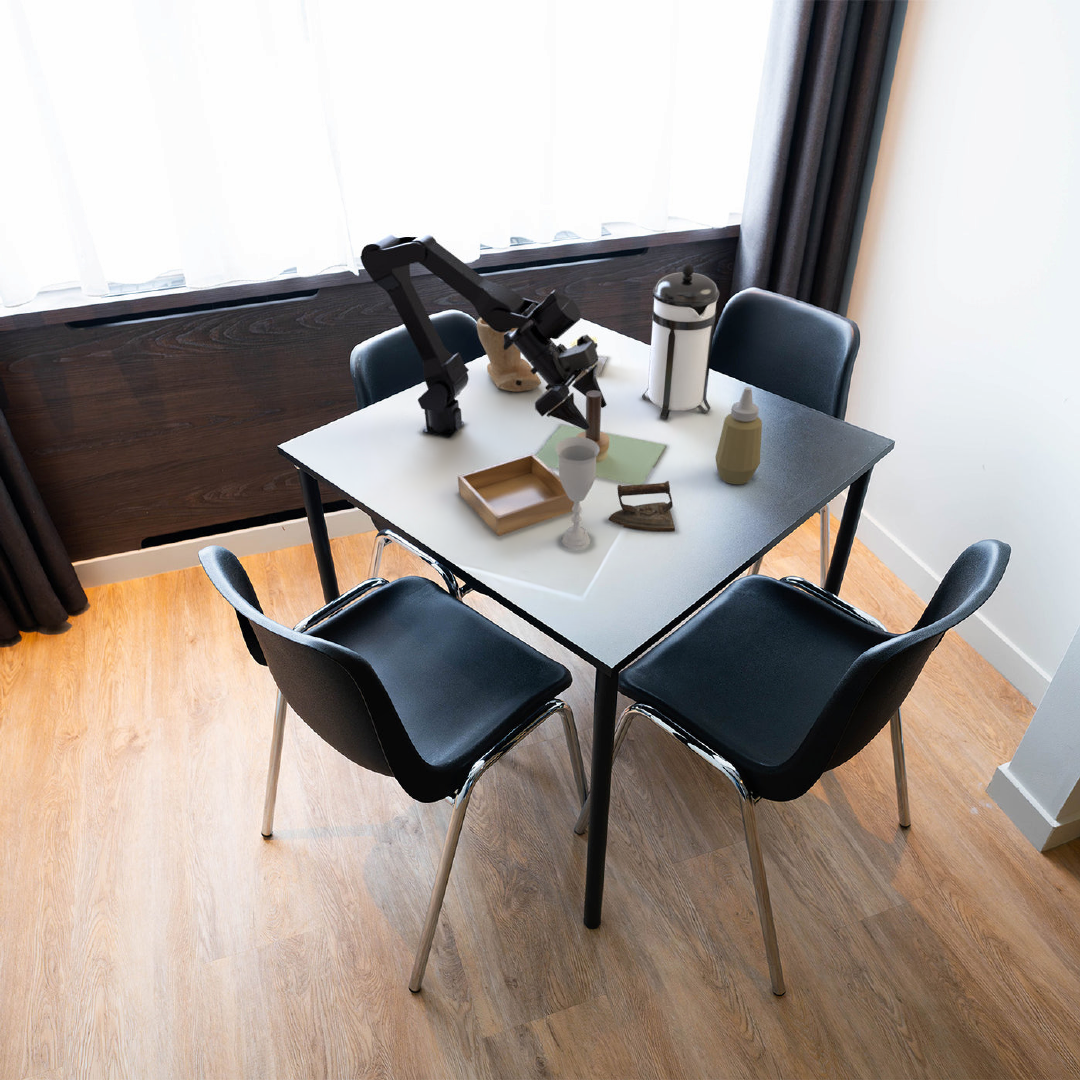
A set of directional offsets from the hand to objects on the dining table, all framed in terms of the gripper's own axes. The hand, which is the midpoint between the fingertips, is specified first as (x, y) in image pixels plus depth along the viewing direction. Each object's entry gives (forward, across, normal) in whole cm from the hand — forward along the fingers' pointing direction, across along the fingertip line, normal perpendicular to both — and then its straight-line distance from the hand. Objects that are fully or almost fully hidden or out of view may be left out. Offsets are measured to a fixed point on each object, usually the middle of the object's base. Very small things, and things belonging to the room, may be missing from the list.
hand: (596, 417), depth 157 cm
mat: (+6, +1, +6) cm, 9 cm away
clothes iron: (+16, -17, -4) cm, 24 cm away
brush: (+5, 0, +6) cm, 8 cm away
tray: (+1, -20, +12) cm, 23 cm away
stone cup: (-14, +24, +27) cm, 39 cm away
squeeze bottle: (+25, +3, -13) cm, 28 cm away
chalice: (+11, -27, +2) cm, 29 cm away
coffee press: (+12, +27, +1) cm, 29 cm away
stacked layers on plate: (-5, +38, +18) cm, 42 cm away
